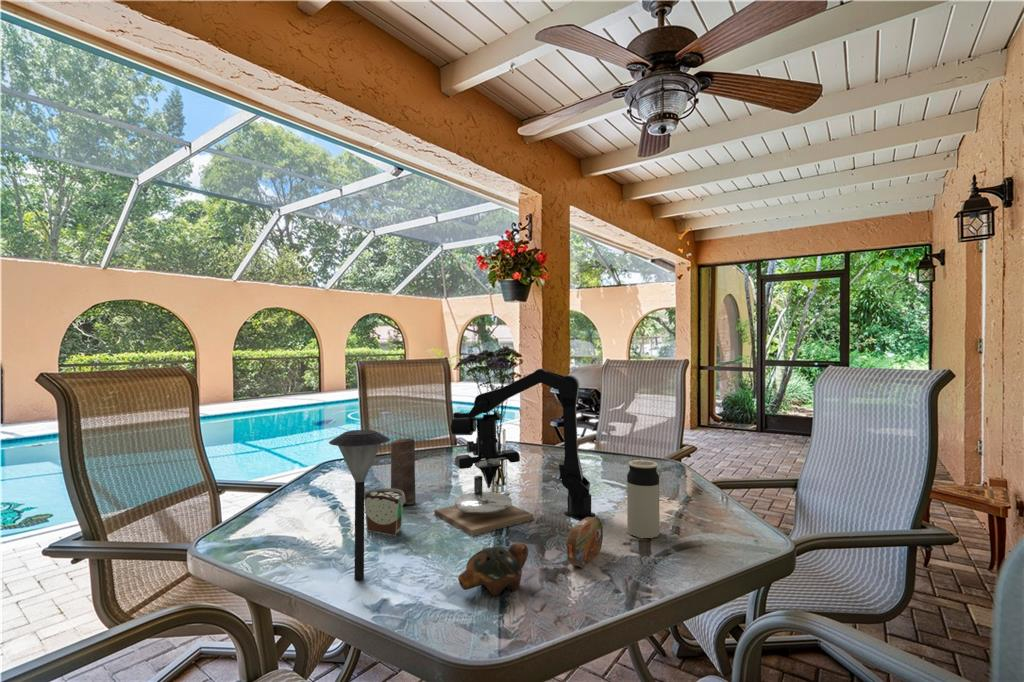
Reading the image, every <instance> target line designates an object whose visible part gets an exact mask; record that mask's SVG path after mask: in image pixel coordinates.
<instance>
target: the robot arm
mask: <svg viewBox="0 0 1024 682" xmlns="http://www.w3.org/2000/svg"><path fill="white" fill-rule="evenodd" d="M539 384H543V385H544V386H547V387H550V388H552V389H556V390H558V395H559V399H560V402H561V407H562V417H563V419H562V421H563V439H564V440H563V441H564V442H563V443H564V445H563V446H564V460H560V462H559V464H558V469H559V477H558V480H561V481H560V482H561V484H562V486H563V487H564V488H565V489H566V490H567V511H564V513H563V515H566V516H568V517H570V518H573V519H576V520H580V521H582V520H583V519H584V518H586V517H596V513H594V512H592V494H590V490H591V482H590V481H589V480H588V479H587V478H586V477H585V476H584V473H583V467H582V463H581V460H580V457H579V449H578V448H579V447H578V421H577V404H578V397H579V391H580V390H579V389H580V381H579V380H578V378H577V377H576V376H574V375H571V374H567V375H565V376H564V375H561V374H558V373H555V372H553V371H549V370H546V369H545V368H538V369H536V370H535V371H534V372H531V373H529V374H528V375H525V376H524V377H521V378H519V379H518V380H515V381H514V382H511V383H509V384H507V385H505V386H503V387H500V388H496V389H494V390H490V391H487V392H483V393H479V394H478V395H477V396H476V397H475V398H474V404H473V407H472V408H471V410H470V411H469V412H460V411H455V412H453V413H452V419H451V424H450V432H451V434H452V435H453V436H473V434H474V433H475V432H476V440H475V441H473V440H470V441H467V442H466V452H467V454H459V455H456V456H455V458H454V466H456V468H458V469H459V470H460V469H461V470H462V469H463V470H465V469H471V468H472V467H473V465H474V466H475V467H476V468H478V469H479V470H480V471H481V473H482V475H483V476H482V477H483V478H484V480H485V483H486V487H487V489H490V488H491V485H492V483H493V481H494V478H495V475H496V473H497V471H498V469H499V468H502V464H501V461H505V460H508V462H509V463H519V462H520V461H521V455H520V453H519V452H518V451H517V450H514V449H503V450H501V452H500V453H498V448H497V447H498V442H499V438H497V421H501V420H502V419H503V416H502V415H501V414H499V412H498V411H495V412H494V413H491V414H490V413H489V412H492V411H493V410H495V409H496V408H497V407H499V406H500V405H501V404H503V403H504V402H505V401H507V400H508V399H509V398H511V397H512V398H513V397H514V396H516V395H518V394H520V393H522V392H524V391H527V390H529V389H531V388H533V387H535V386H536V385H539ZM487 413H489V414H487ZM482 414H483V415H482ZM480 415H482V416H481V417H479V416H480ZM474 442H475V443H474ZM468 453H469V454H471V453H472V454H473V456H471V455H469V454H468Z"/></svg>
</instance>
